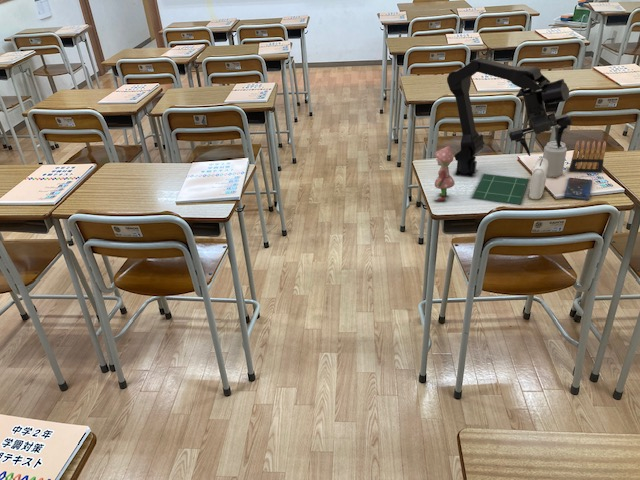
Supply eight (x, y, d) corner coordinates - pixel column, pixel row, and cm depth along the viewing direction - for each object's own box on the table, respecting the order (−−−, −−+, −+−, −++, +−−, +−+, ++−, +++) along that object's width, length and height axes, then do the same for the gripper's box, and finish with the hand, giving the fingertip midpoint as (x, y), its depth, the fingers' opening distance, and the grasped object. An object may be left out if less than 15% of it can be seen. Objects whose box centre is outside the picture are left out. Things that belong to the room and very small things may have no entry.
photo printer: (532, 186, 175) (537, 154, 168) (545, 187, 173) (550, 155, 166) (527, 198, 167) (532, 166, 161) (540, 200, 166) (546, 167, 159)
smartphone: (592, 179, 172) (589, 198, 162) (591, 181, 173) (588, 200, 162) (568, 177, 176) (564, 195, 165) (568, 179, 176) (563, 197, 166)
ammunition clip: (600, 170, 180) (607, 139, 173) (601, 172, 178) (608, 141, 172) (568, 169, 183) (574, 139, 176) (569, 171, 181) (575, 141, 175)
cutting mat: (472, 198, 172) (472, 197, 171) (483, 174, 186) (483, 173, 186) (519, 204, 165) (520, 203, 164) (528, 179, 179) (528, 178, 179)
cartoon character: (450, 206, 168) (453, 152, 157) (429, 203, 171) (431, 151, 160) (456, 193, 176) (459, 141, 165) (437, 191, 178) (439, 139, 168)
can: (564, 178, 177) (569, 147, 171) (542, 178, 179) (547, 147, 173) (559, 169, 183) (565, 139, 177) (538, 169, 185) (543, 140, 179)
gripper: (508, 119, 155) (518, 165, 160) (571, 101, 149) (580, 149, 154) (504, 114, 165) (513, 157, 170) (563, 96, 159) (571, 141, 164)
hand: (543, 151), depth 164 cm, fingers open, 9 cm apart
